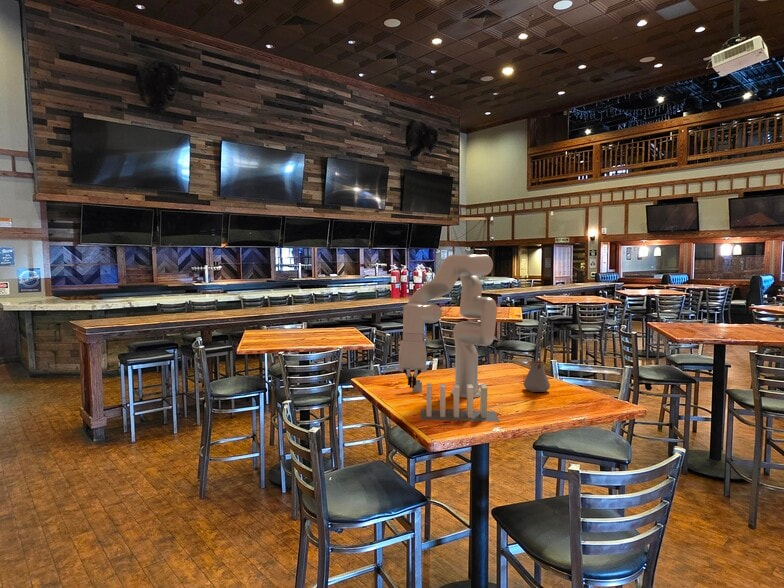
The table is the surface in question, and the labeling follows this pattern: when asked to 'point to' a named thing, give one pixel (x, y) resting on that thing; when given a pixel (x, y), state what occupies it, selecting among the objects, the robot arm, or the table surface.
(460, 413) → the mat
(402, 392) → the table surface
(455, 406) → the domino
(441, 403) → the domino
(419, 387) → the lighter
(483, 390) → the domino
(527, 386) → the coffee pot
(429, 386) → the domino
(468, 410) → the domino
